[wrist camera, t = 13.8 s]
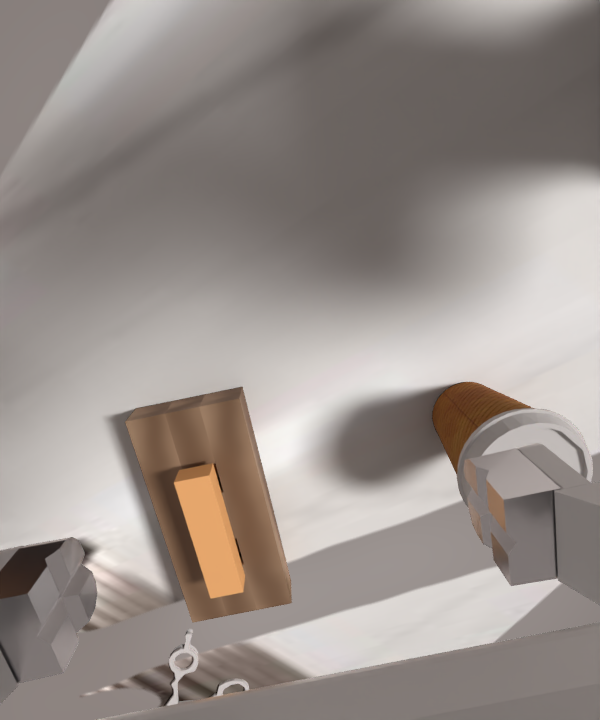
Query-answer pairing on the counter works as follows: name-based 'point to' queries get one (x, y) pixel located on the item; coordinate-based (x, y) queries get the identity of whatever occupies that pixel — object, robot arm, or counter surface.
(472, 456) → the disposable coffee cup
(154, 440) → the rail
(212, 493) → the orange piece
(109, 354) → the counter surface
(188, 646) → the scissors
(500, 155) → the counter surface
